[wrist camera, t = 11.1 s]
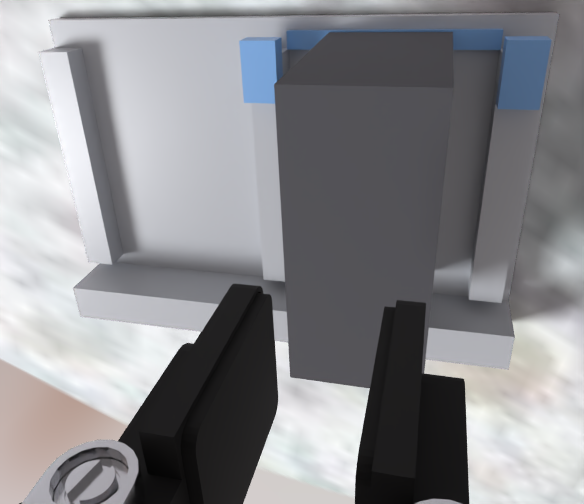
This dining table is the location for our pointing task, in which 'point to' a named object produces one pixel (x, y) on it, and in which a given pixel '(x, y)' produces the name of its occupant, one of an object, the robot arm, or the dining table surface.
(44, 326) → the dining table surface
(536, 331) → the dining table surface
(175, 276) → the grey tray
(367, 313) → the dark gray block
